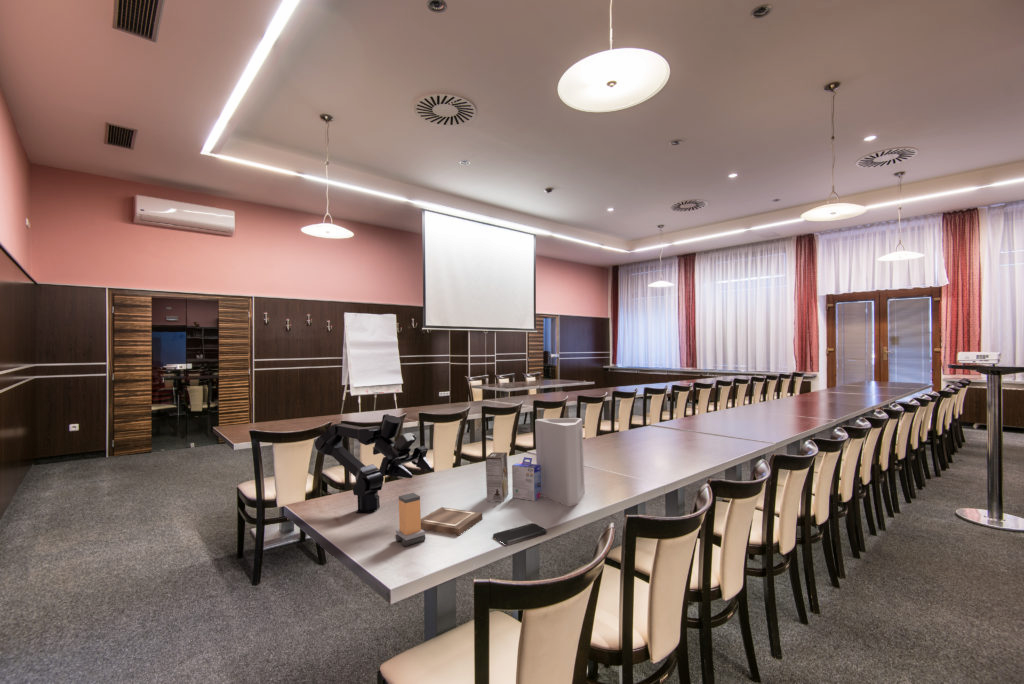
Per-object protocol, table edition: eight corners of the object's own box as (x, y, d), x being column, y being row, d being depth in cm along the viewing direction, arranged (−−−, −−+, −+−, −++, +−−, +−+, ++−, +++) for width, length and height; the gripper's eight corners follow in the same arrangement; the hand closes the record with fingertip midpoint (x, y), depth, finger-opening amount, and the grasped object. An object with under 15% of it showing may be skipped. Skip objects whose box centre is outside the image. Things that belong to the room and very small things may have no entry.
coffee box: (492, 493, 174) (491, 451, 174) (508, 494, 172) (507, 452, 173) (486, 501, 165) (485, 457, 165) (503, 502, 163) (502, 457, 164)
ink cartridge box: (542, 497, 167) (541, 458, 168) (535, 501, 163) (534, 461, 163) (519, 493, 173) (518, 455, 173) (512, 497, 168) (510, 458, 168)
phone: (548, 530, 134) (505, 543, 127) (548, 534, 134) (505, 547, 127) (533, 522, 141) (491, 533, 133) (533, 526, 141) (491, 537, 133)
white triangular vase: (599, 498, 165) (597, 421, 165) (568, 506, 157) (565, 425, 157) (566, 485, 181) (564, 415, 181) (536, 492, 173) (534, 419, 173)
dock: (416, 528, 142) (415, 521, 142) (441, 513, 154) (441, 506, 154) (459, 535, 135) (459, 528, 135) (482, 519, 147) (482, 512, 147)
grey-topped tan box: (395, 540, 133) (394, 495, 133) (415, 534, 137) (414, 491, 137) (405, 547, 127) (404, 501, 128) (425, 541, 131) (424, 496, 131)
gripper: (375, 433, 144) (408, 458, 137) (416, 424, 160) (447, 446, 153) (366, 463, 146) (398, 489, 139) (407, 451, 162) (438, 474, 155)
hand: (422, 473), depth 146 cm, fingers open, 9 cm apart
